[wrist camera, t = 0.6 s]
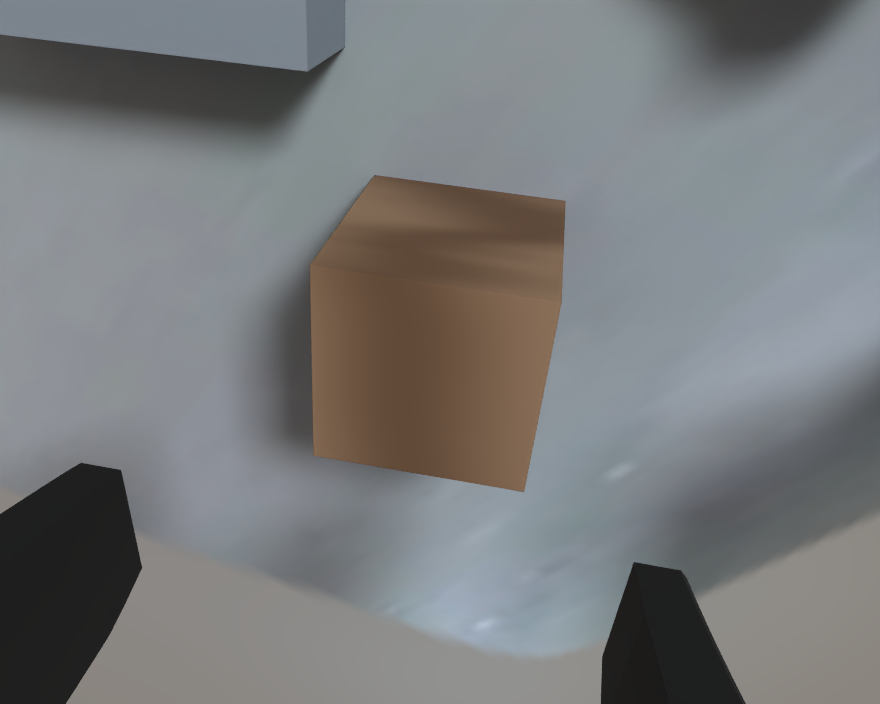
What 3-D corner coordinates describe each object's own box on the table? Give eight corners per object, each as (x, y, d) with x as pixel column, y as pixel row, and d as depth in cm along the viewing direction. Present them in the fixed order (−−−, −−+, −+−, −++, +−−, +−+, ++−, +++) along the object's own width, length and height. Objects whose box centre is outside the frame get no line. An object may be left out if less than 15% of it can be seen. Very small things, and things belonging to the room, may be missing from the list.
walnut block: (565, 200, 17) (561, 302, 12) (535, 361, 19) (524, 491, 15) (375, 174, 17) (309, 265, 13) (370, 335, 20) (313, 455, 15)
